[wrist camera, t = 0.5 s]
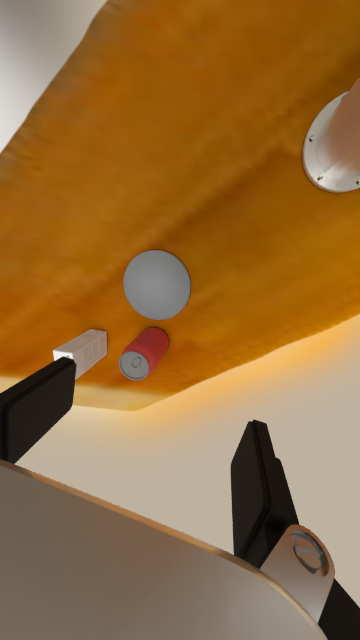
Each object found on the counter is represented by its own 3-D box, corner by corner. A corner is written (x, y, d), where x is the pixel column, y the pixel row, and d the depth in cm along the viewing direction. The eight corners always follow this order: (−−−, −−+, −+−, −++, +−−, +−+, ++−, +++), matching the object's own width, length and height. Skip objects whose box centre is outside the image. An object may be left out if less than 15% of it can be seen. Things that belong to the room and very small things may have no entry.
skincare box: (90, 328, 51) (52, 349, 40) (107, 330, 51) (72, 352, 39) (92, 351, 53) (55, 377, 42) (108, 354, 52) (75, 381, 41)
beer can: (175, 338, 47) (158, 364, 36) (159, 359, 50) (139, 390, 39) (150, 320, 48) (126, 341, 36) (136, 342, 50) (109, 368, 39)
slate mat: (150, 234, 42) (148, 234, 41) (205, 281, 43) (204, 282, 42) (114, 289, 47) (111, 290, 46) (163, 331, 48) (162, 332, 47)
